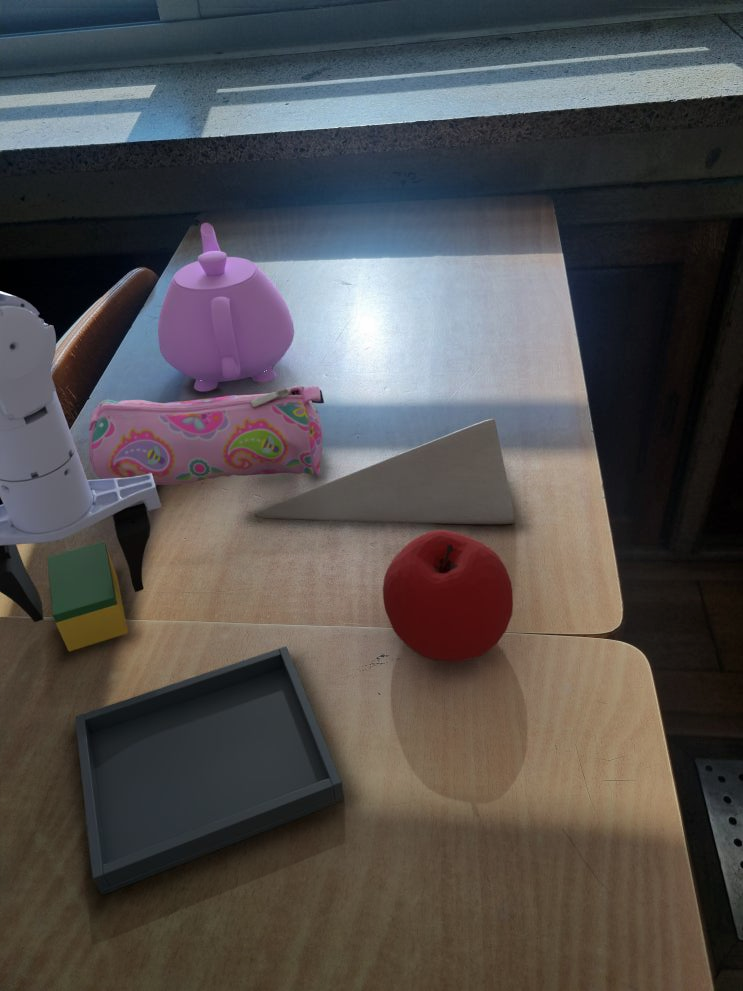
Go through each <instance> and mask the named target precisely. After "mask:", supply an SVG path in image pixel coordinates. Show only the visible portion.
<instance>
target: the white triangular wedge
mask: <svg viewBox="0 0 743 991" xmlns="http://www.w3.org/2000/svg"><path fill="white" fill-rule="evenodd" d="M504 463H505V462H504V457H503V452H502V448H501V442H500V438H499V433H498V428H497V424H496V420H495V418H490V419H486V420H482V421H480V422H478V423H474V424H472V425H469V426H467V427H464V428H461V429H459V430H456V431H454V432H452V433H449V434H446V435H443V436H441V437H438V438H437V439H434V440H431V441H429V442H427V443H424V444H421V445H419V446H416V447H413V448H411V449H408V450H407V451H403V452H401V453H399V454H396V455H394V456H390V457H388V458H386V459H383V460H382V461H379V462H376V463H374V464H371V465H369V466H366V467H364V468H361V469H359V470H357V471H354V472H351V473H349V474H346V475H344V476H341V477H339V478H336V479H334V480H332V481H331V480H330V481H329V482H327V483H324V484H322V485H319V486H317V487H314V488H311V489H309V490H307V491H305V492H301V493H299V494H297V495H294V496H292V497H290V498H287V499H285V500H282V501H280V502H277V503H274V504H273V505H270V506H267V507H265V508H263V509H261V510H259V511H257V512H255V513H254V517H256V518H263V519H281V520H282V519H283V520H284V519H285V520H312V521H313V520H314V521H315V520H316V521H344V522H373V523H374V522H377V523H378V522H380V523H408V524H409V523H410V524H411V523H412V524H446V525H447V524H451V525H453V524H454V525H512V524H515V522H516V519H515V514H514V508H513V503H512V498H511V493H510V488H509V482H508V478H507V473H506V467H505V464H504Z"/></svg>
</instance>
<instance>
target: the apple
mask: <svg viewBox="0 0 743 991" xmlns="http://www.w3.org/2000/svg"><path fill="white" fill-rule="evenodd" d="M382 599H383V600H382V601H383V606H384V610H385V613H386V616H387V618H388V620H389V623H390V626H391V628H392V630H393V631H394V633H395V634H396V636H397V637H398V638H399V640H400V641H401V642H402V643H404V644H405V645H406V646H407V647H408V648H409V649H411V650H412V651H414V652H415V653H417V654H418V655H420V656H422V657H423V658H426V659H429V660H432V661H439V662H450V663H454V662H456V663H457V662H458V663H459V662H464V661H467V660H473V659H475V658H477V657H481V656H483V655H485V654H486V653H488V652H489V651H490V650H492V648H494V647H495V646H496V645H497V644H498V642H499V641H500V640H501V638H502V637H503V635H504V634H505V633H506V631H507V629H508V626H509V624H510V621H511V619H512V615H513V610H514V608H513V607H514V592H513V585H512V581H511V578H510V575H509V572H508V569H507V567H506V565H505V564H504V562H503V561H502V558H501V557H500V555H498V554H497V552H496V551H494V549H492V548H491V547H489V546H488V545H486V544H485V543H483V542H482V541H480V540H477V539H475V538H473V537H471V536H468V535H465V534H462V533H459V532H455V531H451V530H446V529H437V530H431V531H427V532H425V533H423V534H420V535H418V536H417V537H416V538H414V539H412V540H411V541H410V542H408V543H406V545H404V546H403V547H402V549H401V550H400V551H399V552H398V554H396V555H395V557H394V558H393V559H392V561H391V562H390V564H389V565H388V567H387V569H386V572H385V574H384V577H383V583H382Z"/></svg>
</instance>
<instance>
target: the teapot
mask: <svg viewBox="0 0 743 991" xmlns="http://www.w3.org/2000/svg"><path fill="white" fill-rule="evenodd" d="M200 237H201V241H202V254H200V255H198V257H197V260H196V261H194V262H191V263H188V264H186V265H184V266H182V267H181V268H179V269H178V270H177V271H176V272H175V273H174V275H173V276H172V279H171V281H170V283H169V285H168V287H167V290H166V293H165V295H164V298H163V300H162V303H161V307H160V311H159V317H158V322H157V323H158V324H157V338H158V339H157V340H158V346H159V351H160V354H161V356H162V357H163V359H164V361H165V362H166V363H168V365H170V366H171V367H172V368H174V369H175V370H177V371H178V372H179V373H181V374H183V375H184V376H187V377H189V378H191V379H193V380H195V382H194V385H193V388H194V390H195V391H198V392H209V391H213V390H215V389H216V388H217V387H218V386H219V382H231V381H238V380H243V379H247V378H252V381H254V382H257V383H267V382H271V381H272V380H274V379H275V378H276V376H277V374H276V372H275V371H274V369H273V367H274V366H276V364H278V363H279V362H280V361H281V359H282V358H283V357H284V356H285V354H286V353H287V351H288V350H289V349H290V347H291V345H292V343H293V341H294V338H295V327H294V321H293V318H292V315H291V312H290V309H289V307H288V305H287V303H286V301H285V299H284V297H283V295H282V293H281V292H280V291H279V289H277V287H276V285H275V284H274V282H272V280H271V279H270V278H269V276H267V275H266V274H265V272H264V271H263V270H262V269H261V268H260V267H259V266H258V265H257V264H255V263H254V262H253V261H251V260H249V259H247V258H243V257H237V256H228V254H227V252H225V251H221V248H220V245H219V242H218V240H217V236H216V232H215V230H214V227H213V225H212V224H210V223H209V222H204V223H202V224H201V226H200ZM266 370H267V371H266ZM264 371H265V372H264ZM200 380H202V381H200Z"/></svg>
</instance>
